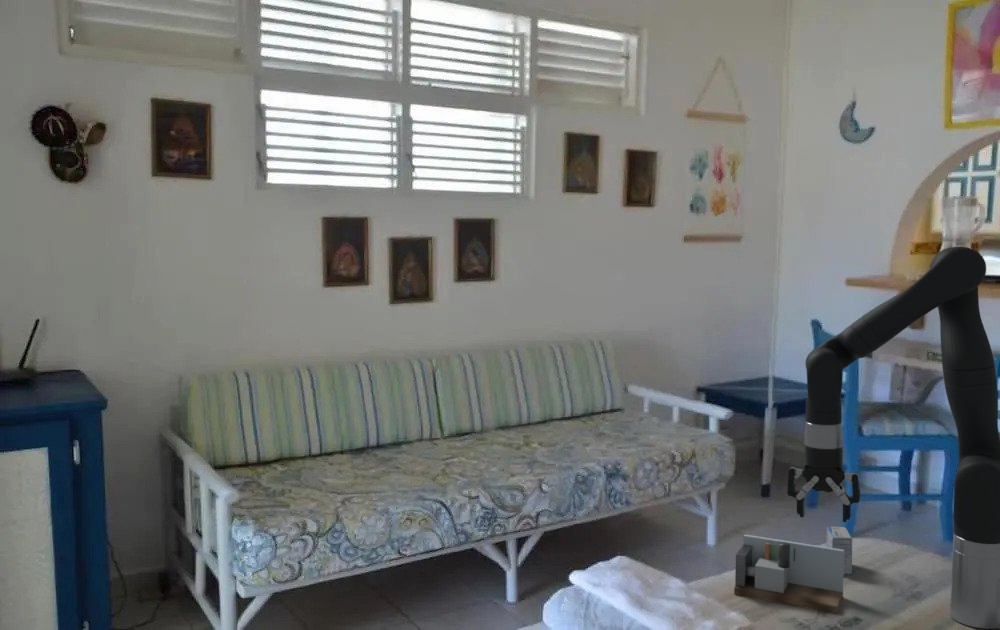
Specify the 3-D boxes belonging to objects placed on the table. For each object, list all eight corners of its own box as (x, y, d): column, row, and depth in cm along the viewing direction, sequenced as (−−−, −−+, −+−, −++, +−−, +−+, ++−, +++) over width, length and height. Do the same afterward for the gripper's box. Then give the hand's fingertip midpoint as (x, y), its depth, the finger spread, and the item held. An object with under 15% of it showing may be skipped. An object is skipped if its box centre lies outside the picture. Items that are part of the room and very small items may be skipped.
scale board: (843, 590, 185) (844, 549, 184) (842, 592, 184) (843, 551, 183) (743, 573, 195) (744, 534, 194) (742, 574, 194) (743, 535, 193)
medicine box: (852, 575, 197) (853, 538, 196) (831, 573, 198) (832, 537, 197) (845, 562, 205) (846, 526, 204) (825, 561, 206) (826, 525, 205)
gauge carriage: (791, 584, 188) (792, 540, 187) (786, 593, 183) (787, 548, 182) (751, 576, 192) (751, 533, 191) (745, 586, 187) (746, 541, 186)
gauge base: (842, 597, 185) (843, 590, 185) (837, 613, 177) (837, 606, 177) (743, 579, 195) (743, 573, 195) (734, 594, 187) (734, 587, 187)
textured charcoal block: (751, 576, 193) (752, 545, 192) (744, 587, 187) (745, 556, 186) (742, 574, 194) (743, 544, 193) (735, 585, 188) (735, 554, 187)
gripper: (861, 442, 181) (861, 517, 182) (791, 436, 187) (791, 509, 189) (858, 450, 174) (858, 528, 175) (785, 444, 181) (785, 519, 182)
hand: (823, 518), depth 182 cm, fingers open, 8 cm apart
